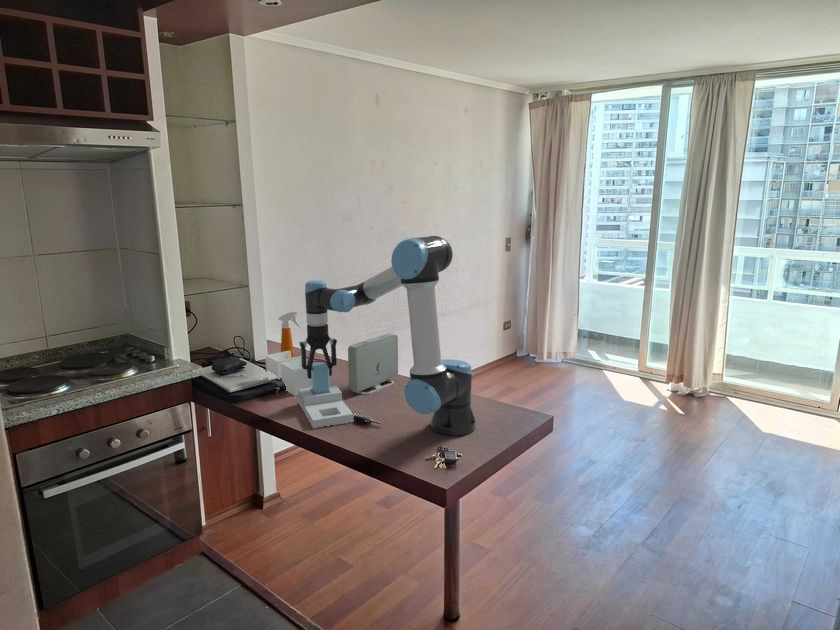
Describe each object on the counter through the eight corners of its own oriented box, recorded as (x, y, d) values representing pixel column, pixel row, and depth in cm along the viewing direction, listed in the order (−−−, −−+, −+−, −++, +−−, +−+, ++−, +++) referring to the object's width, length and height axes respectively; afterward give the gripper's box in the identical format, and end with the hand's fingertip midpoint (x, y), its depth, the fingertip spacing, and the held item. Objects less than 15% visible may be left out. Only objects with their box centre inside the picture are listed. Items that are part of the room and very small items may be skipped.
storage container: (266, 380, 238) (265, 355, 236) (290, 374, 245) (289, 350, 243) (294, 396, 220) (293, 369, 217) (319, 390, 226) (318, 364, 224)
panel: (353, 422, 195) (353, 405, 194) (313, 428, 189) (312, 411, 188) (335, 398, 216) (334, 384, 215) (298, 404, 211) (298, 389, 210)
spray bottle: (301, 370, 250) (298, 312, 244) (277, 370, 251) (274, 312, 245) (305, 366, 257) (303, 309, 251) (282, 365, 258) (279, 309, 252)
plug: (329, 397, 207) (327, 366, 204) (315, 399, 205) (314, 367, 202) (324, 392, 212) (323, 361, 210) (311, 394, 211) (310, 363, 208)
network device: (360, 398, 217) (359, 348, 213) (344, 393, 222) (342, 344, 218) (402, 381, 237) (401, 335, 233) (386, 376, 242) (385, 331, 238)
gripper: (339, 319, 209) (341, 379, 214) (290, 324, 202) (293, 385, 207) (344, 323, 202) (346, 385, 207) (294, 328, 196) (297, 392, 200)
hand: (320, 385), depth 207 cm, fingers closed on plug, 5 cm apart
